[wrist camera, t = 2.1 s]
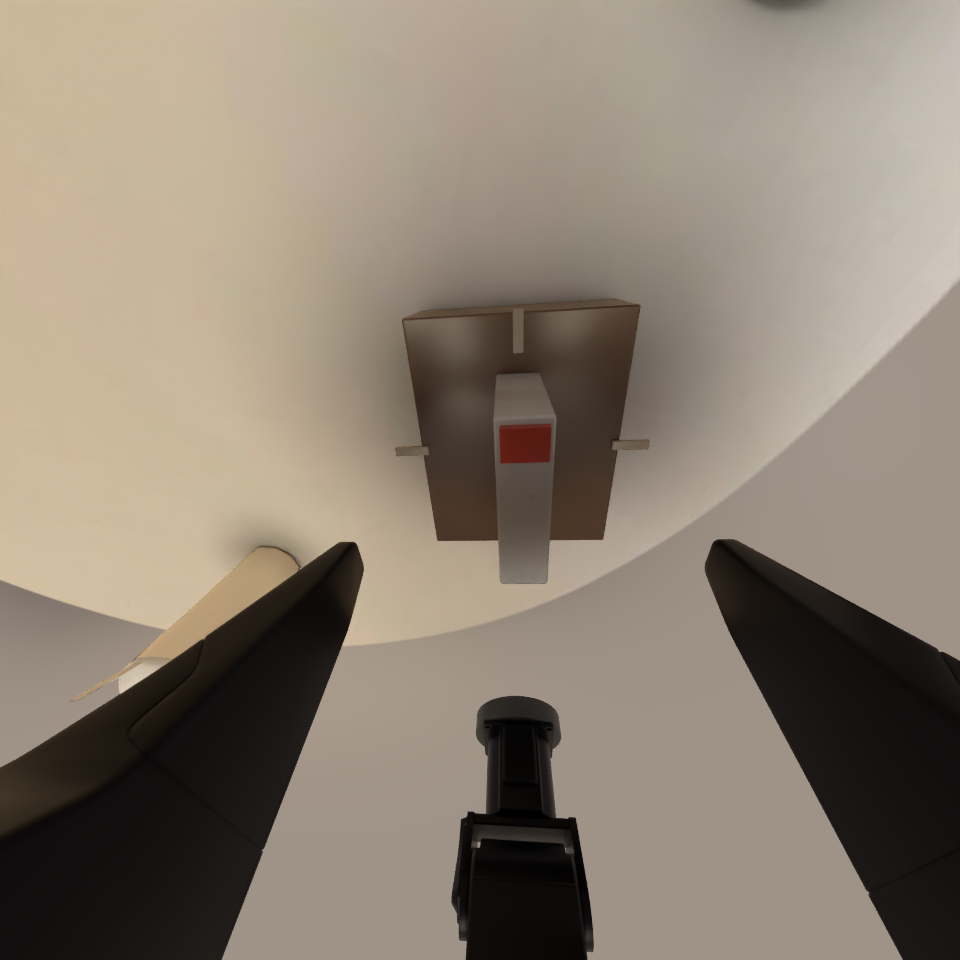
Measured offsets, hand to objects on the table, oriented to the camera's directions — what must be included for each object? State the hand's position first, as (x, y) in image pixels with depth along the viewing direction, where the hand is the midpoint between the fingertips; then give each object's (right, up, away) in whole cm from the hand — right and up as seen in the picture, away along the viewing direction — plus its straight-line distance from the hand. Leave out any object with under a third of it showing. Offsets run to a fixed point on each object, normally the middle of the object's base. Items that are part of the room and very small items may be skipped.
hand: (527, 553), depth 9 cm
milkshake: (-15, -3, +14) cm, 21 cm away
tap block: (+1, +5, +8) cm, 9 cm away
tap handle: (0, +3, +5) cm, 6 cm away
